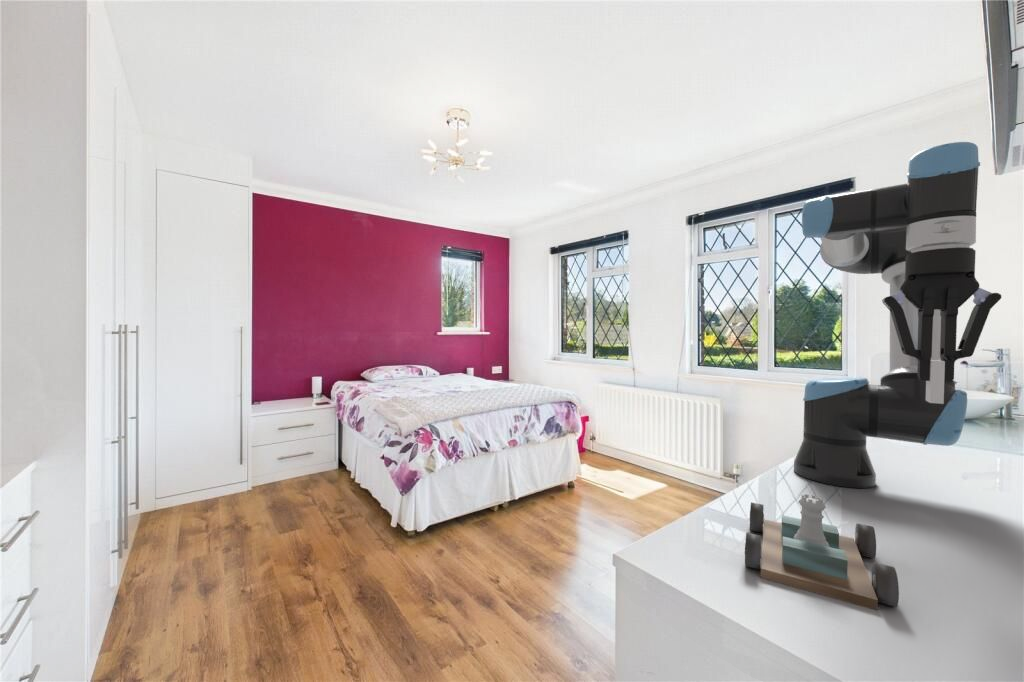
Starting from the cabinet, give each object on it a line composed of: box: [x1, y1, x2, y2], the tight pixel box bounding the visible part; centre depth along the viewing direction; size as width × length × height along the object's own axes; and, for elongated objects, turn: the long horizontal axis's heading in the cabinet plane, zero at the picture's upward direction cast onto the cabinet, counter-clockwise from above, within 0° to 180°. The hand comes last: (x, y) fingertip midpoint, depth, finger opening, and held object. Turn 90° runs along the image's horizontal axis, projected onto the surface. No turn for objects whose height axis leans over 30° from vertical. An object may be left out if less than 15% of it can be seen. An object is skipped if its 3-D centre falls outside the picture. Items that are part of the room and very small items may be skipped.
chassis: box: [744, 502, 900, 611], centre depth 60 cm, size 18×16×4 cm
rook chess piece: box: [793, 493, 829, 547], centre depth 60 cm, size 4×4×8 cm
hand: (934, 401), depth 65 cm, fingers closed
